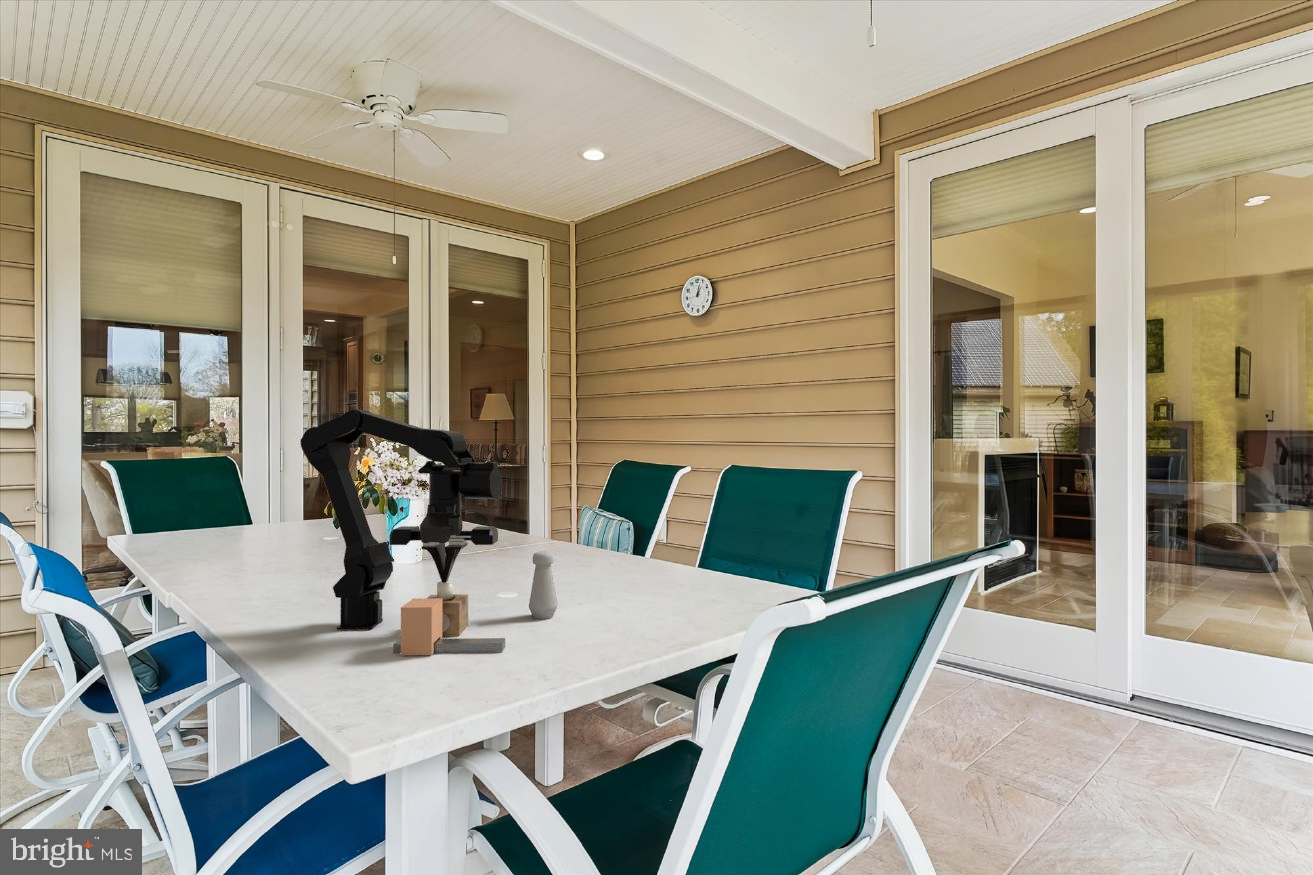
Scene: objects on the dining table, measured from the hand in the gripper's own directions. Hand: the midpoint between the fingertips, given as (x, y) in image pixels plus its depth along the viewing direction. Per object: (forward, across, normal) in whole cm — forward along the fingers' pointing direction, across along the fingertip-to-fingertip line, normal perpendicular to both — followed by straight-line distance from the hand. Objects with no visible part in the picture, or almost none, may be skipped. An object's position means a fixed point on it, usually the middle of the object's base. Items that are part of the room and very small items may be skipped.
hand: (444, 581), depth 129 cm
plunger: (+3, 0, 0) cm, 3 cm away
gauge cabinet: (+9, 0, 0) cm, 9 cm away
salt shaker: (+9, +17, +10) cm, 22 cm away
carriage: (+9, -1, -12) cm, 15 cm away
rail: (+9, +4, -12) cm, 16 cm away
